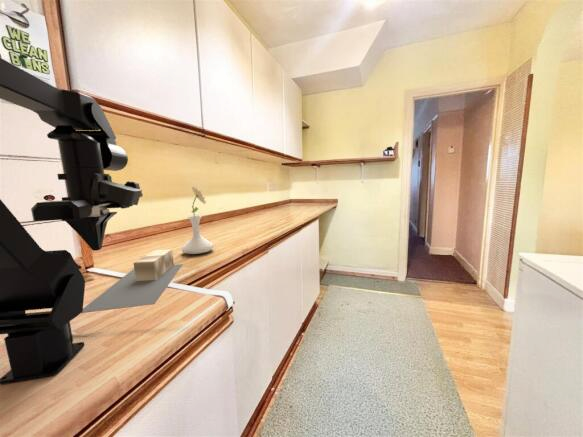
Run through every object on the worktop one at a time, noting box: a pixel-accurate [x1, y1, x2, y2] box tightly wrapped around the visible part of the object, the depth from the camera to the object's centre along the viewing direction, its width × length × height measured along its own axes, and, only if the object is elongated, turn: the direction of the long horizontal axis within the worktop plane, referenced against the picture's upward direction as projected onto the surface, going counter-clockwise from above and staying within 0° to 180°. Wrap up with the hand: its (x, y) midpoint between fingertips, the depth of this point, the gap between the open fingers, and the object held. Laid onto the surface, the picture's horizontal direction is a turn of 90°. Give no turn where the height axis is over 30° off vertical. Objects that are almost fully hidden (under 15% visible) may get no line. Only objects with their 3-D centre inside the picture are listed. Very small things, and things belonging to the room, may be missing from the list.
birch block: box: [133, 248, 175, 281], centre depth 68 cm, size 5×5×12 cm
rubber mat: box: [81, 263, 183, 314], centre depth 61 cm, size 26×14×1 cm, turn 12°
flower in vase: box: [180, 185, 214, 255], centre depth 89 cm, size 13×11×25 cm
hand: (97, 250), depth 46 cm, fingers closed
